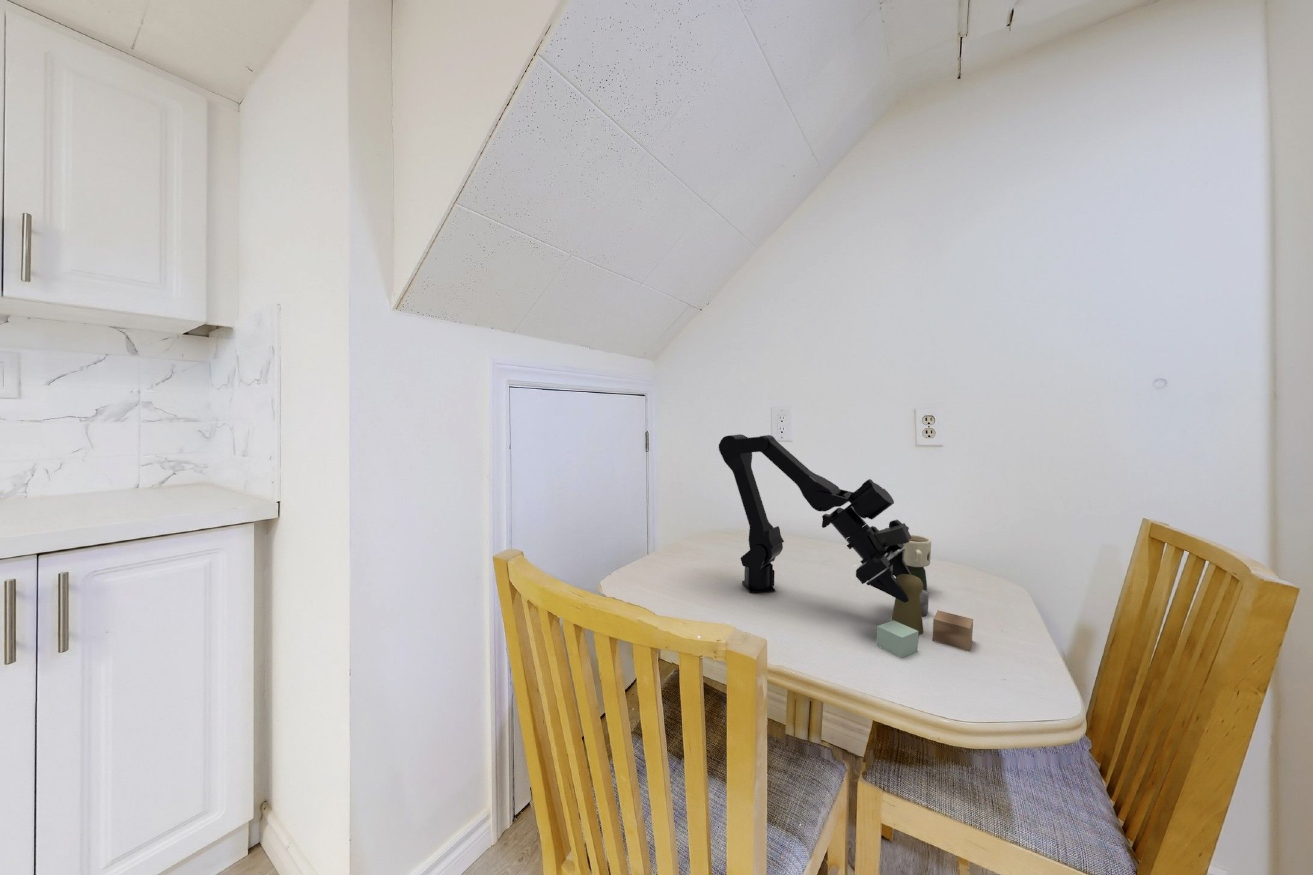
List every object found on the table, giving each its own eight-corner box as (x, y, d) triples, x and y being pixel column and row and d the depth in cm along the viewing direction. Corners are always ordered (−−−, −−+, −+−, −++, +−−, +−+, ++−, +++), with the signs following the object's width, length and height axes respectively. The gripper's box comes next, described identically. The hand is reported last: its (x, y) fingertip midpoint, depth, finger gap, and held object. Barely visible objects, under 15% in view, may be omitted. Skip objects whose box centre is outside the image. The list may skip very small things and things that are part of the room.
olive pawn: (928, 636, 92) (930, 582, 91) (895, 633, 93) (897, 580, 92) (917, 622, 98) (919, 571, 97) (886, 619, 99) (888, 569, 98)
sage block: (901, 658, 84) (902, 637, 84) (876, 646, 88) (877, 625, 88) (917, 651, 86) (918, 631, 86) (892, 639, 91) (893, 620, 91)
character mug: (934, 599, 109) (937, 546, 108) (901, 596, 111) (903, 543, 110) (922, 582, 119) (924, 533, 118) (892, 579, 121) (894, 531, 120)
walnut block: (932, 641, 90) (933, 618, 90) (936, 631, 94) (937, 610, 94) (969, 651, 87) (970, 628, 86) (972, 641, 90) (973, 618, 90)
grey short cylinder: (912, 616, 100) (913, 596, 100) (897, 606, 105) (898, 587, 105) (933, 615, 101) (934, 595, 101) (917, 605, 106) (918, 586, 106)
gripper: (875, 518, 89) (939, 587, 83) (894, 502, 104) (950, 560, 98) (832, 550, 94) (889, 617, 88) (856, 530, 109) (907, 587, 103)
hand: (911, 593), depth 94 cm, fingers open, 9 cm apart
